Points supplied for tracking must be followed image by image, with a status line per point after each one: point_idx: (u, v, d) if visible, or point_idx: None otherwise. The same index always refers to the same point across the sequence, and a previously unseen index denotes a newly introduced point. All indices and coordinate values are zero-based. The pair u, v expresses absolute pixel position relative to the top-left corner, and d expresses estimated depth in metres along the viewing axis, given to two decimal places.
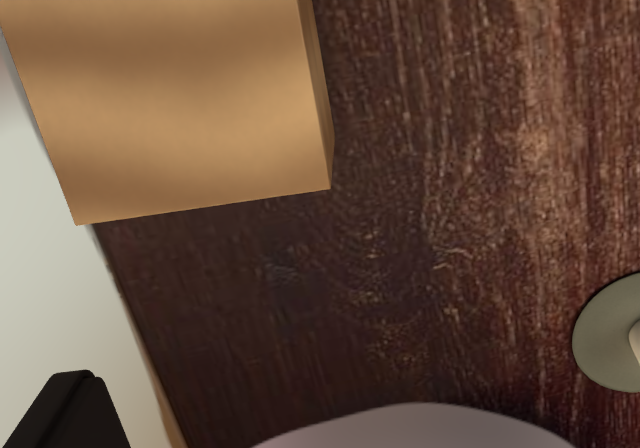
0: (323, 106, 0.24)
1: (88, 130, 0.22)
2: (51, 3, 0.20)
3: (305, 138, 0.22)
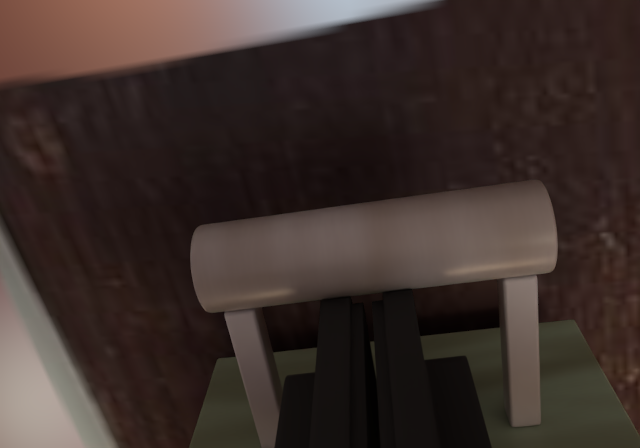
0: None
1: None
2: None
3: None
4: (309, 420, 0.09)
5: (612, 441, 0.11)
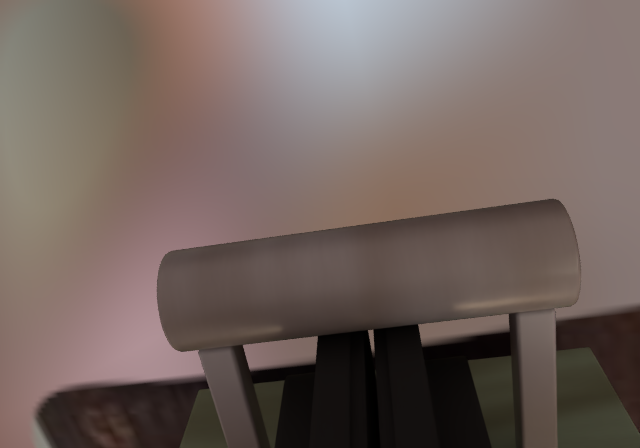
0: None
1: None
2: None
3: None
4: (309, 421, 0.09)
5: None
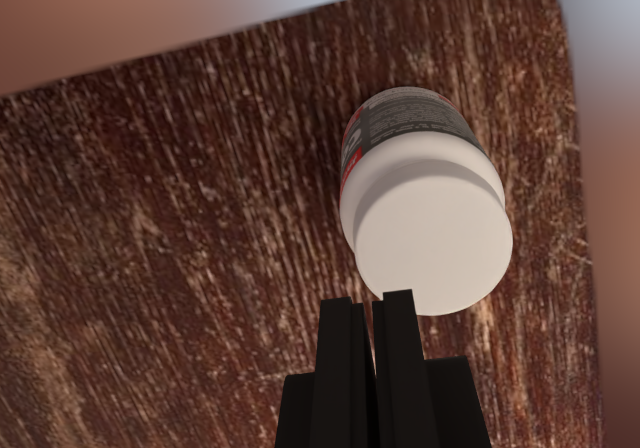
0: None
1: None
2: None
3: None
4: (309, 420, 0.09)
5: None
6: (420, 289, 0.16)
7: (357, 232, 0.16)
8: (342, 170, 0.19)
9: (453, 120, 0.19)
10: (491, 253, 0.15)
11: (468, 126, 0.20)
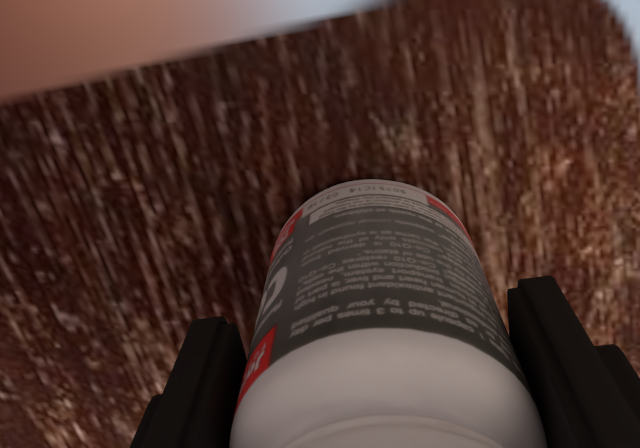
0: None
1: None
2: None
3: None
4: None
5: None
6: None
7: None
8: None
9: (451, 274, 0.10)
10: None
11: (476, 265, 0.12)
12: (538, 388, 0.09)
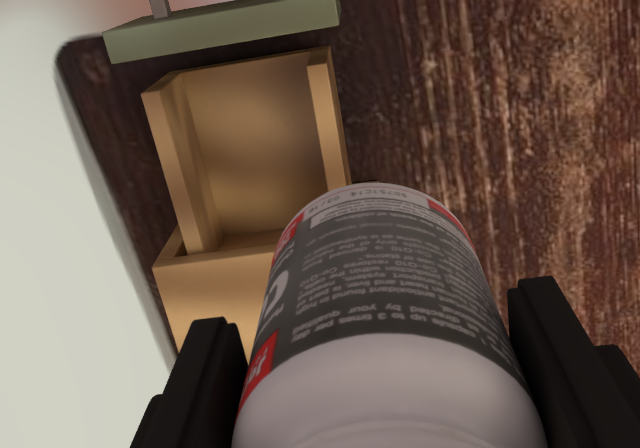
0: None
1: None
2: None
3: None
4: None
5: None
6: None
7: None
8: (251, 353, 0.11)
9: (453, 279, 0.10)
10: None
11: (478, 269, 0.12)
12: (538, 388, 0.09)
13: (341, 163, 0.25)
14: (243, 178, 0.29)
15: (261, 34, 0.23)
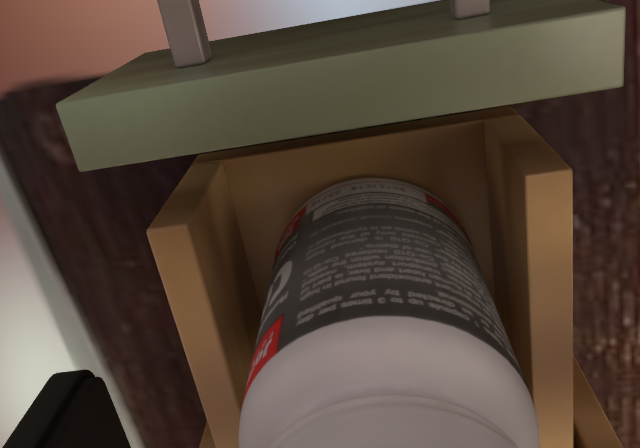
0: None
1: None
2: None
3: None
4: None
5: (569, 5, 0.10)
6: None
7: None
8: None
9: (448, 267, 0.11)
10: None
11: (473, 259, 0.12)
12: None
13: (570, 366, 0.12)
14: None
15: (432, 109, 0.10)
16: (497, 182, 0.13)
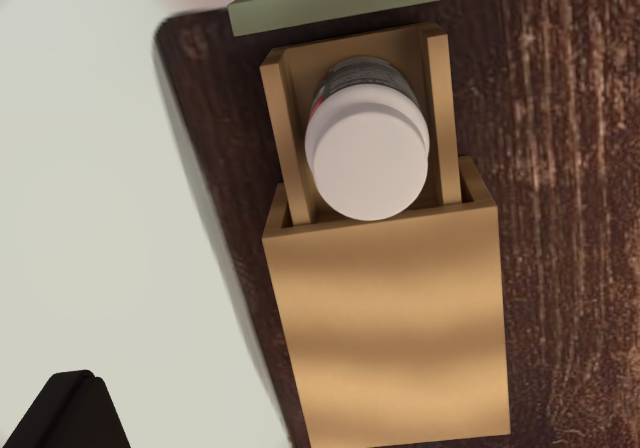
0: None
1: (335, 395, 0.30)
2: (324, 320, 0.28)
3: (496, 403, 0.30)
4: None
5: None
6: (360, 198, 0.22)
7: (314, 154, 0.21)
8: None
9: (395, 79, 0.24)
10: (412, 172, 0.21)
11: (409, 87, 0.26)
12: None
13: (454, 135, 0.25)
14: None
15: (386, 6, 0.23)
16: (423, 53, 0.26)
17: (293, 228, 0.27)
